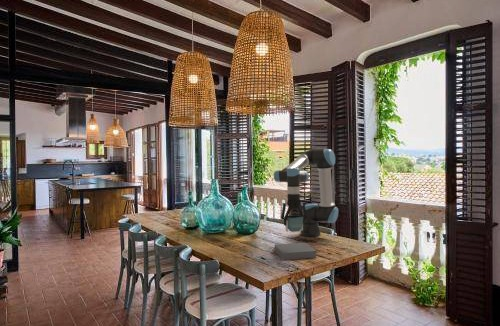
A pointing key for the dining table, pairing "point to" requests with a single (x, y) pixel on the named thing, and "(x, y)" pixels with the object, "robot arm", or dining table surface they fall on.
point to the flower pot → (295, 223)
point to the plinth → (295, 251)
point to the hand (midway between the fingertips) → (294, 230)
